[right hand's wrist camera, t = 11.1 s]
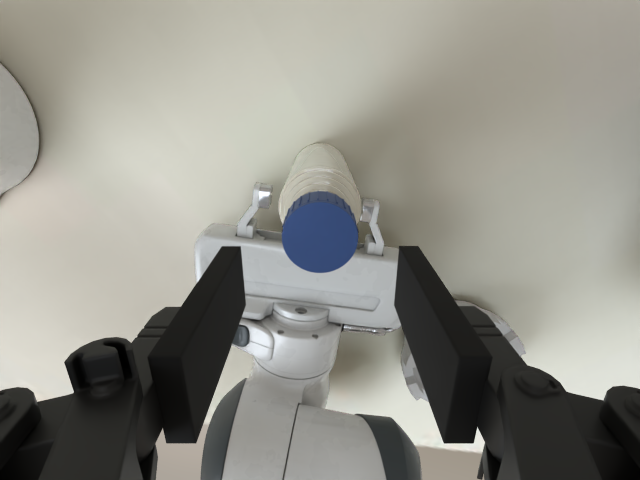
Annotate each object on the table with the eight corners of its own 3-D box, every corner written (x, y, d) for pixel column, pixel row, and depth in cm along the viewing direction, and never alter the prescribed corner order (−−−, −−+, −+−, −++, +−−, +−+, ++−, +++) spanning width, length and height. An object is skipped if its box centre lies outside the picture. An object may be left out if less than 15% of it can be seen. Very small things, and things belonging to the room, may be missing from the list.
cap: (272, 236, 21) (267, 252, 19) (305, 176, 20) (304, 186, 17) (332, 267, 22) (333, 286, 19) (368, 211, 20) (374, 224, 18)
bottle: (283, 181, 36) (250, 254, 19) (309, 132, 35) (298, 164, 17) (329, 206, 37) (338, 298, 20) (357, 160, 36) (392, 217, 18)
